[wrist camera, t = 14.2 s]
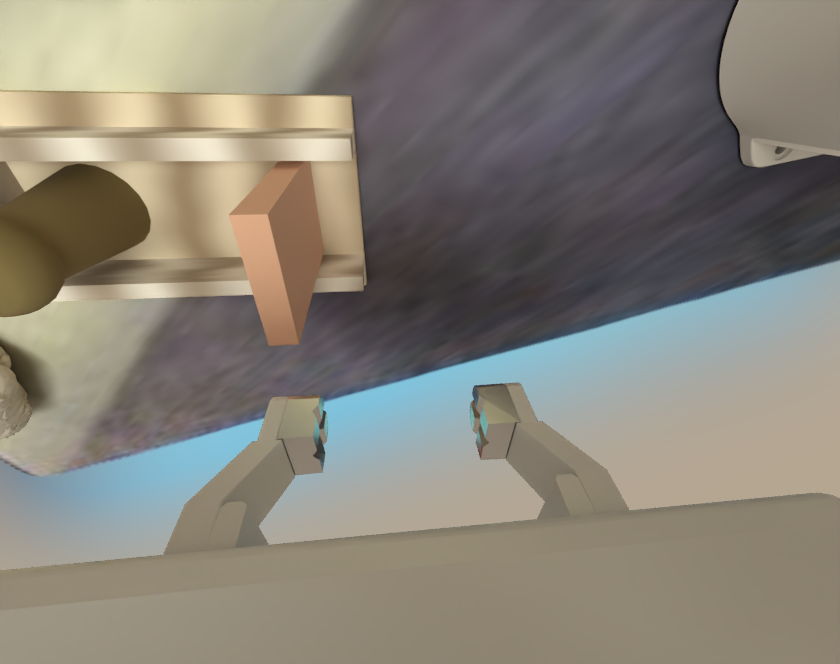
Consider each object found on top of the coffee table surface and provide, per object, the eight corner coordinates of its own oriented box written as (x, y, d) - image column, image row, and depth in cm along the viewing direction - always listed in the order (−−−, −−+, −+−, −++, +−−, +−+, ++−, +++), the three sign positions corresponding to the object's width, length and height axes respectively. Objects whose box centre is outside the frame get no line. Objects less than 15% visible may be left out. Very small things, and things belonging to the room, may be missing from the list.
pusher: (308, 154, 25) (267, 214, 15) (323, 251, 29) (299, 344, 20) (285, 154, 25) (228, 215, 15) (303, 251, 29) (268, 345, 19)
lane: (351, 95, 24) (346, 102, 20) (366, 279, 32) (365, 310, 28) (-47, 89, 22) (-140, 96, 18) (81, 288, 30) (37, 323, 26)
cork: (40, 150, 23) (-161, 205, 15) (146, 179, 25) (23, 244, 16) (61, 235, 27) (-91, 321, 18) (154, 256, 28) (55, 344, 19)
